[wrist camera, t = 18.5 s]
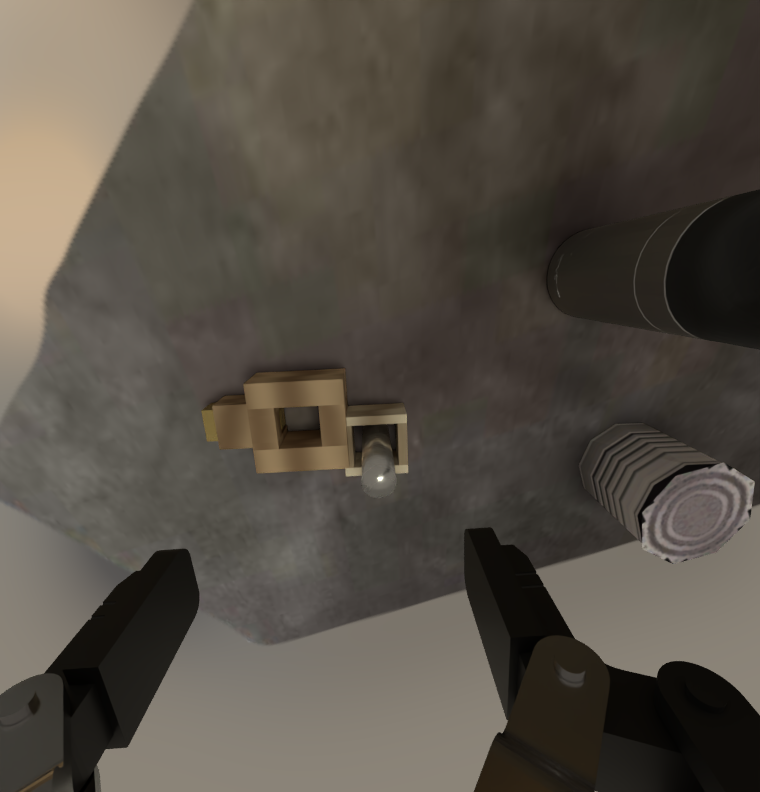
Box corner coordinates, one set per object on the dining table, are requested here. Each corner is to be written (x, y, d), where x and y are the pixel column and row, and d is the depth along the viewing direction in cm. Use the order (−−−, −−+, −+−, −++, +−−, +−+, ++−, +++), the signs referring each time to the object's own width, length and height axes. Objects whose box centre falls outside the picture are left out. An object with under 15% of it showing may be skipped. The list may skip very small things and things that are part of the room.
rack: (403, 402, 45) (406, 414, 41) (404, 457, 47) (408, 472, 43) (343, 406, 45) (341, 417, 41) (347, 460, 47) (345, 476, 43)
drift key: (283, 399, 44) (277, 406, 42) (286, 428, 45) (281, 437, 43) (211, 402, 44) (201, 410, 42) (216, 431, 45) (207, 441, 43)
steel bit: (388, 418, 46) (396, 465, 34) (389, 443, 47) (397, 496, 35) (361, 420, 46) (360, 467, 34) (363, 445, 47) (362, 498, 35)
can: (661, 408, 47) (757, 449, 35) (672, 486, 50) (764, 547, 38) (569, 438, 47) (634, 488, 36) (586, 513, 51) (651, 582, 39)
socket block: (345, 368, 44) (342, 379, 39) (350, 448, 47) (349, 468, 42) (221, 374, 43) (203, 386, 39) (234, 455, 46) (219, 475, 42)
